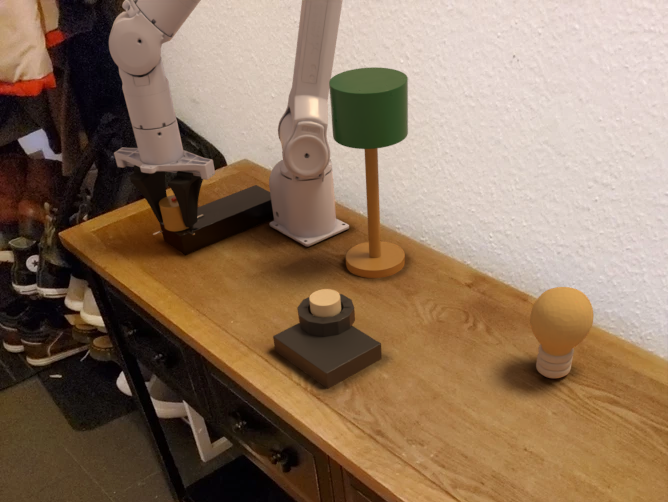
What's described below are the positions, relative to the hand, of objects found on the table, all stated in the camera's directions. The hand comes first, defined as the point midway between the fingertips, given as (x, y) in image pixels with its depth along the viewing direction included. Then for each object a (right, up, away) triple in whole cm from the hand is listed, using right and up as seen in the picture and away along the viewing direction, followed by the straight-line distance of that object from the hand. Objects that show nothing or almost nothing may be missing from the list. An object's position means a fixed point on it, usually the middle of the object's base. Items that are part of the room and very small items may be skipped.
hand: (177, 221), depth 105 cm
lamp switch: (+22, -17, -18) cm, 33 cm away
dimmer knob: (0, 0, 0) cm, 0 cm away
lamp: (+28, -7, -4) cm, 29 cm away
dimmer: (+5, 0, +5) cm, 7 cm away
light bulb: (+47, -25, -23) cm, 58 cm away
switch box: (+22, -21, -18) cm, 36 cm away
